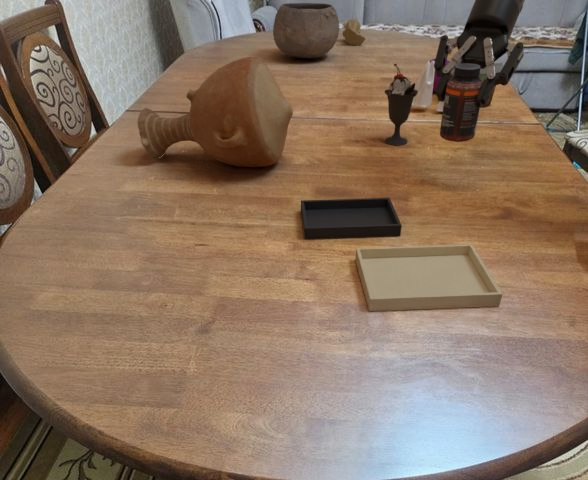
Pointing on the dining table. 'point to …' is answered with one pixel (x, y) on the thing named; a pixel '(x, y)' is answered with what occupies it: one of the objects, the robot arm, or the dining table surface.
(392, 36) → the dining table surface
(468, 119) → the supplement bottle
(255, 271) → the dining table surface
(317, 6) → the clay pot
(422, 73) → the shaker set
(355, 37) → the cat figurine
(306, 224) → the charcoal tray
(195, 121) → the jug
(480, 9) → the robot arm
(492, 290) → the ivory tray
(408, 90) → the sundae
